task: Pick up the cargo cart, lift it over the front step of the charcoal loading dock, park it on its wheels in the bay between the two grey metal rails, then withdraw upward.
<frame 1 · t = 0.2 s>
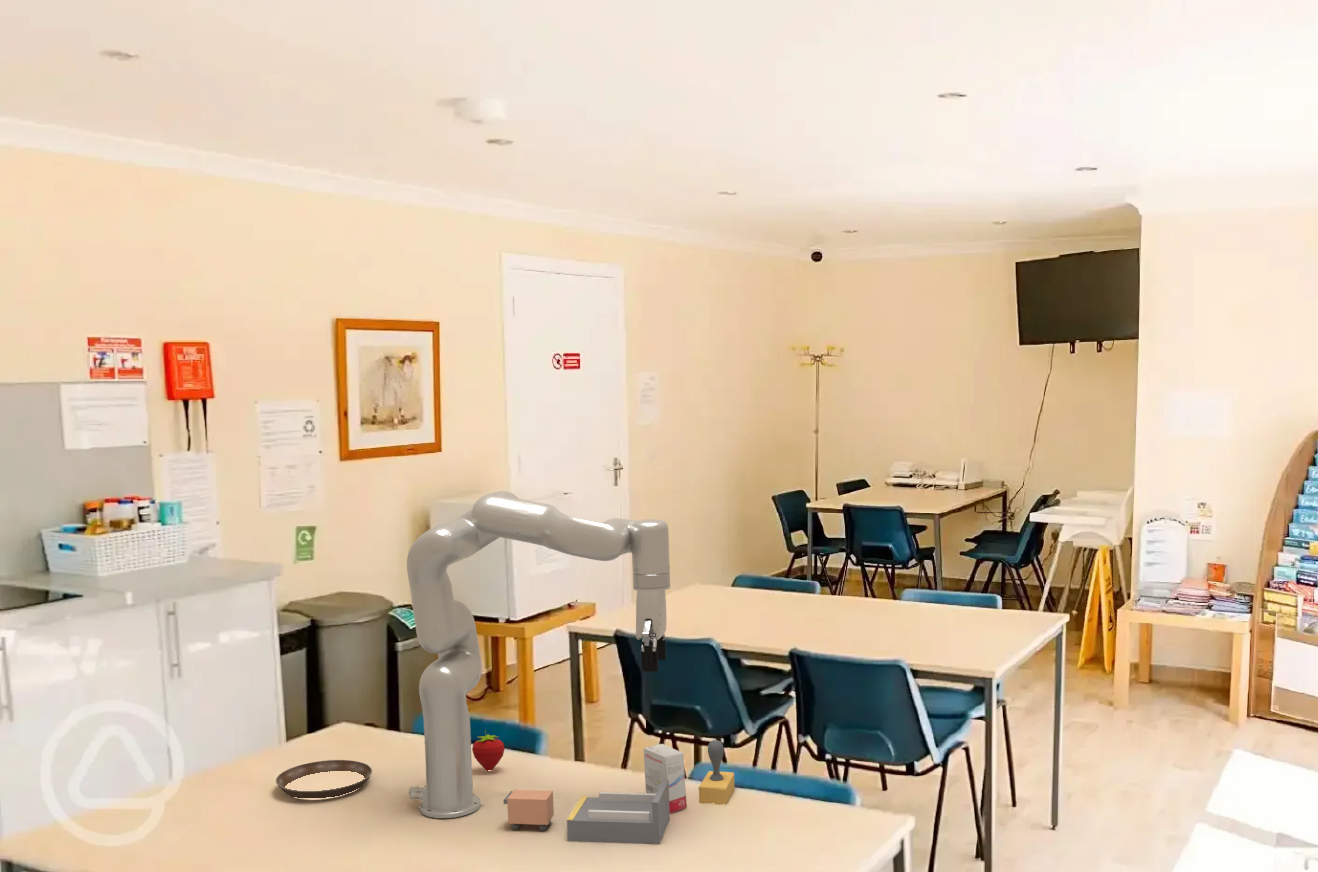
hand: (654, 665, 229), 31 cm above the table, tool pointing down, fingers open, 9 cm apart
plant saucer: (325, 789, 253), on the table
cargo cart: (531, 827, 226), on the table
strawberry: (489, 772, 260), on the table
rubber stamp: (717, 797, 240), on the table
ink box: (665, 807, 235), on the table
loading dock: (619, 830, 223), on the table
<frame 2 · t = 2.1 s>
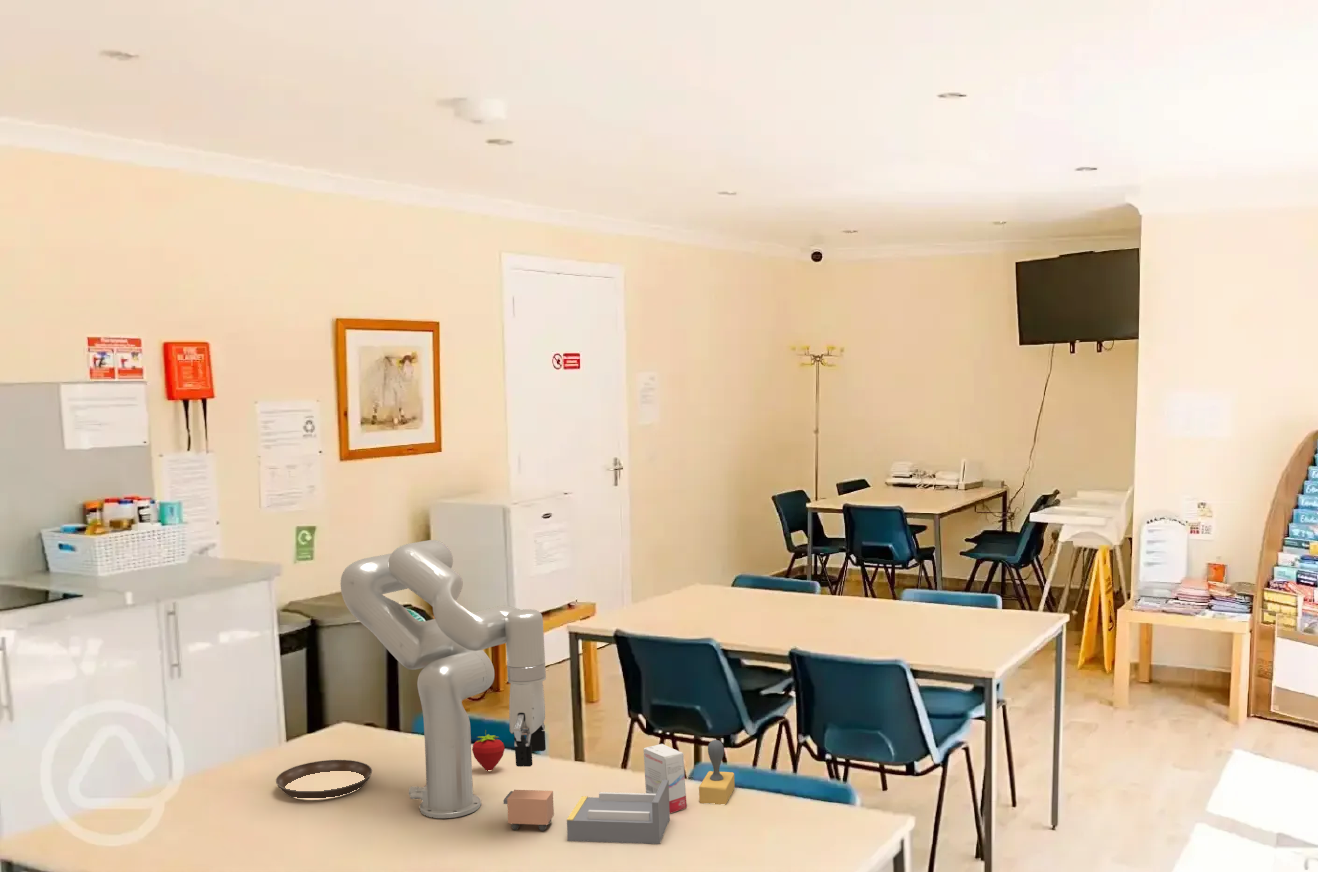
hand: (531, 758, 225), 14 cm above the table, tool pointing down, fingers open, 9 cm apart
nothing on the table moved.
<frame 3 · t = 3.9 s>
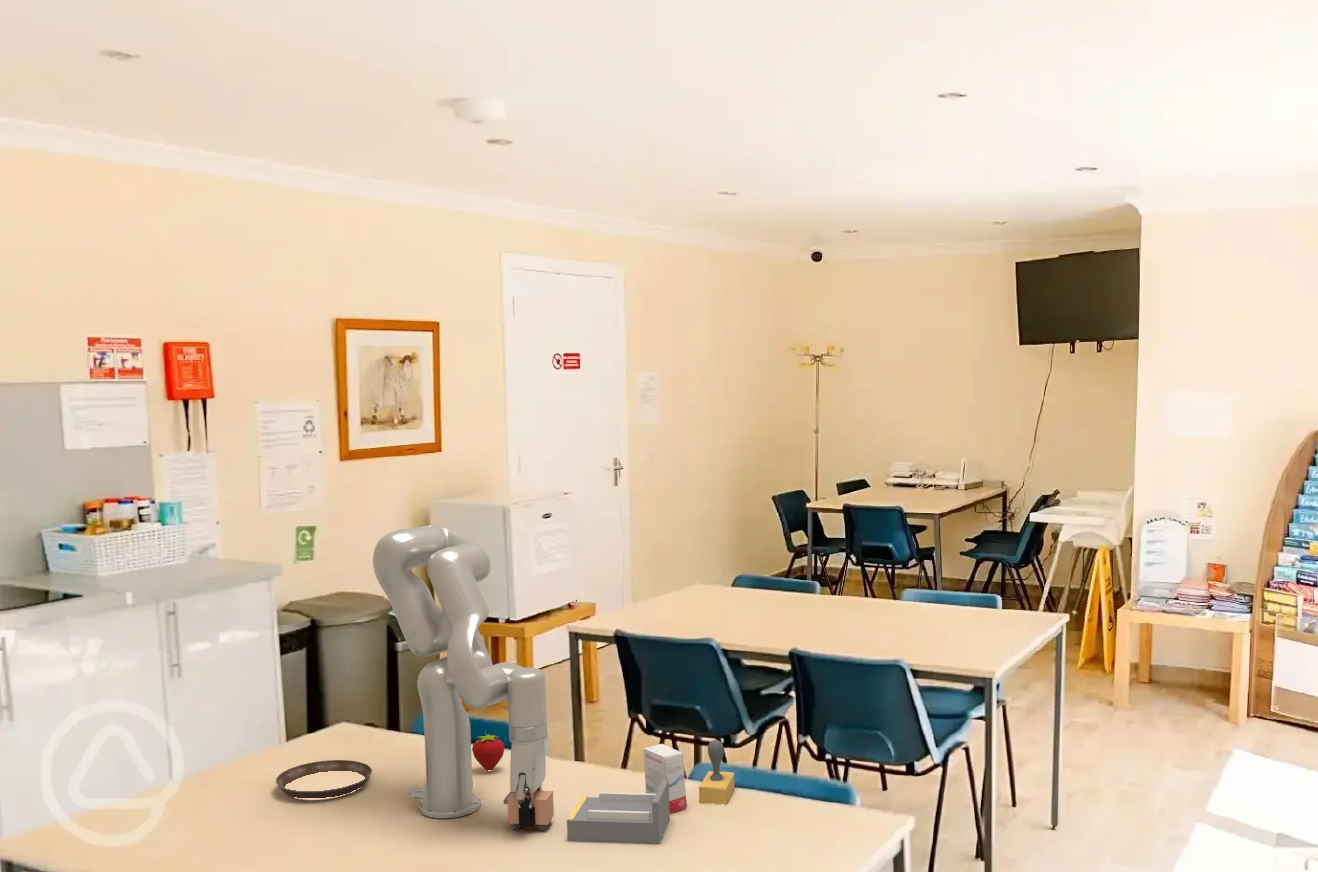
hand: (531, 820, 226), 1 cm above the table, tool pointing down, fingers closed on cargo cart, 5 cm apart
cargo cart: (531, 827, 226), on the table, touching gripper
everything else where it was.
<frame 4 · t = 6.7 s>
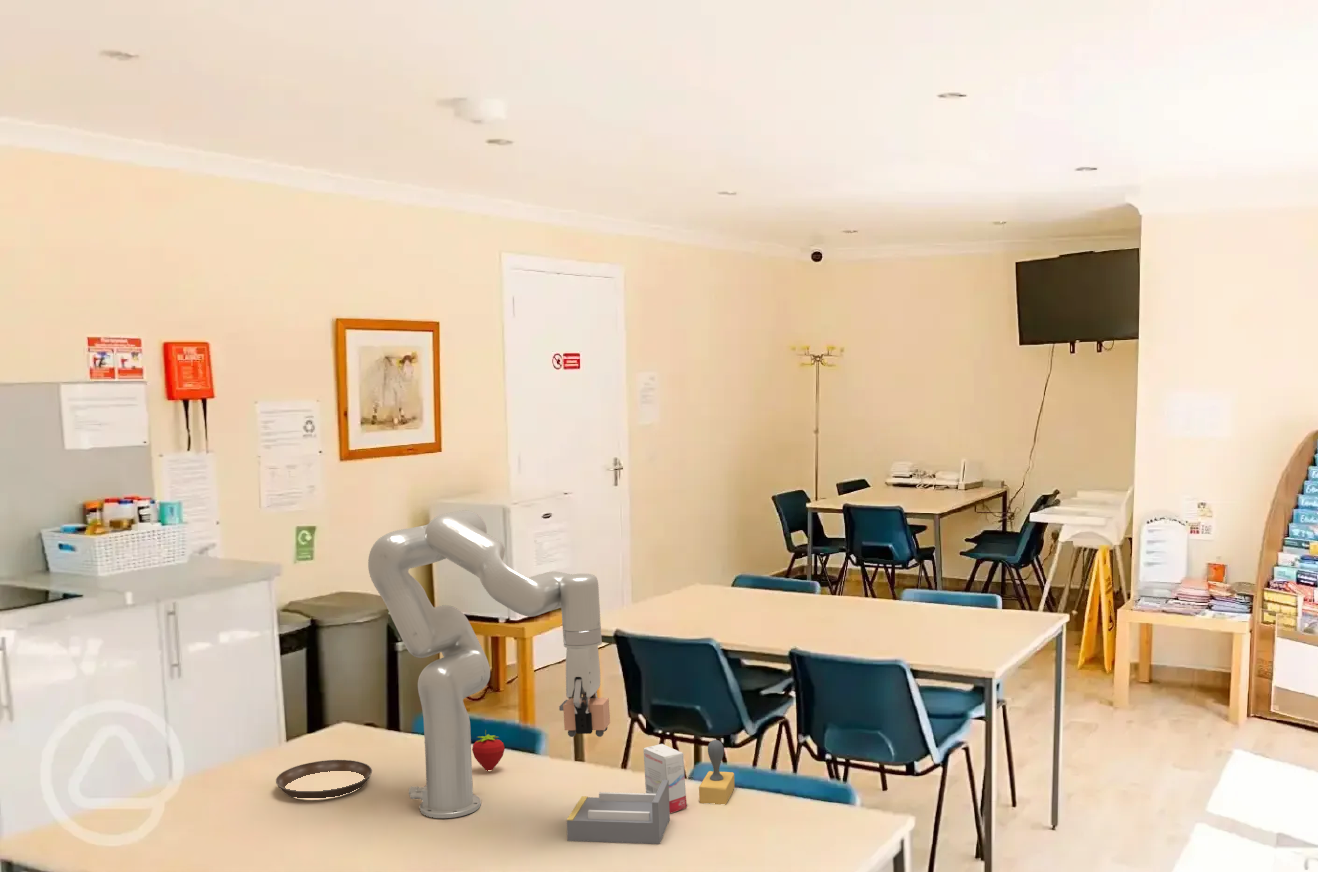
hand: (587, 728, 223), 20 cm above the table, tool pointing down, fingers closed on cargo cart, 5 cm apart
cargo cart: (588, 734, 223), point 19 cm above the table, touching gripper
everything else where it was.
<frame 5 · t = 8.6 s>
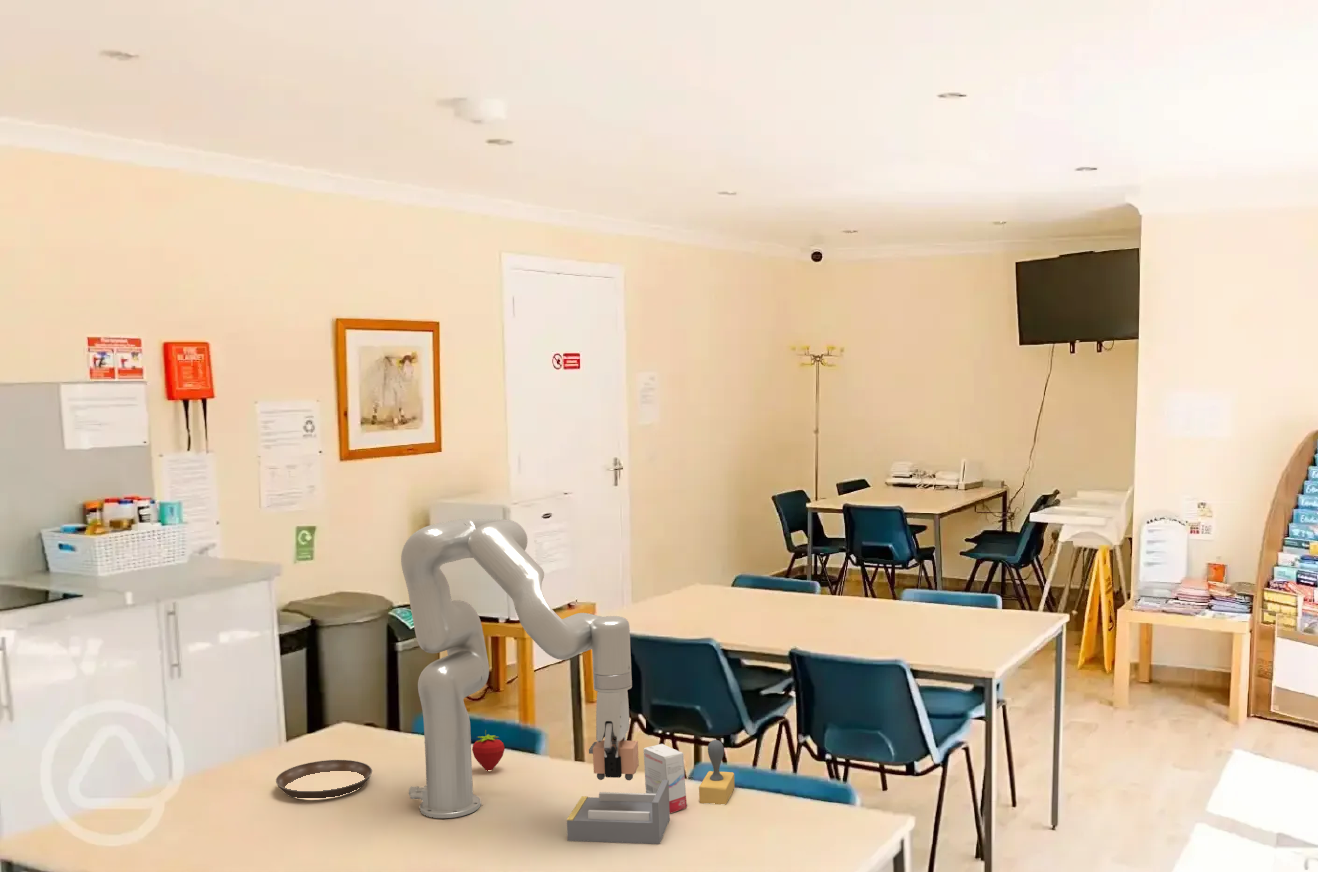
hand: (616, 771, 222), 12 cm above the table, tool pointing down, fingers closed on cargo cart, 5 cm apart
cargo cart: (616, 777, 222), point 11 cm above the table, touching gripper
everything else where it was.
when the fingers open (7 cm above the table, at t = 9.9 s): cargo cart drops 2 cm, resting on loading dock.
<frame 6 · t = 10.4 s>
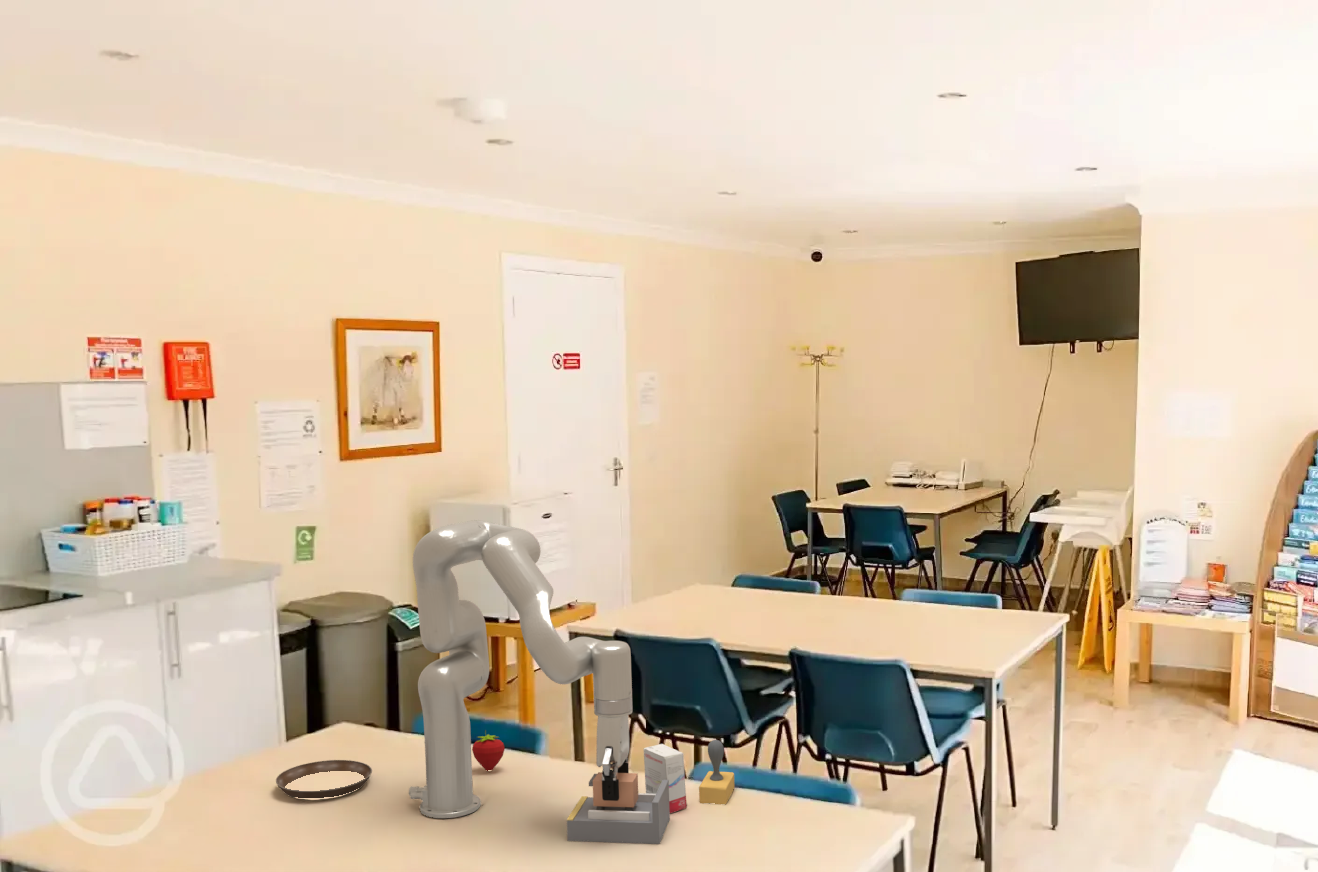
hand: (616, 791, 223), 8 cm above the table, tool pointing down, fingers open, 9 cm apart
cargo cart: (616, 809, 223), point 4 cm above the table, touching loading dock
everything else where it was.
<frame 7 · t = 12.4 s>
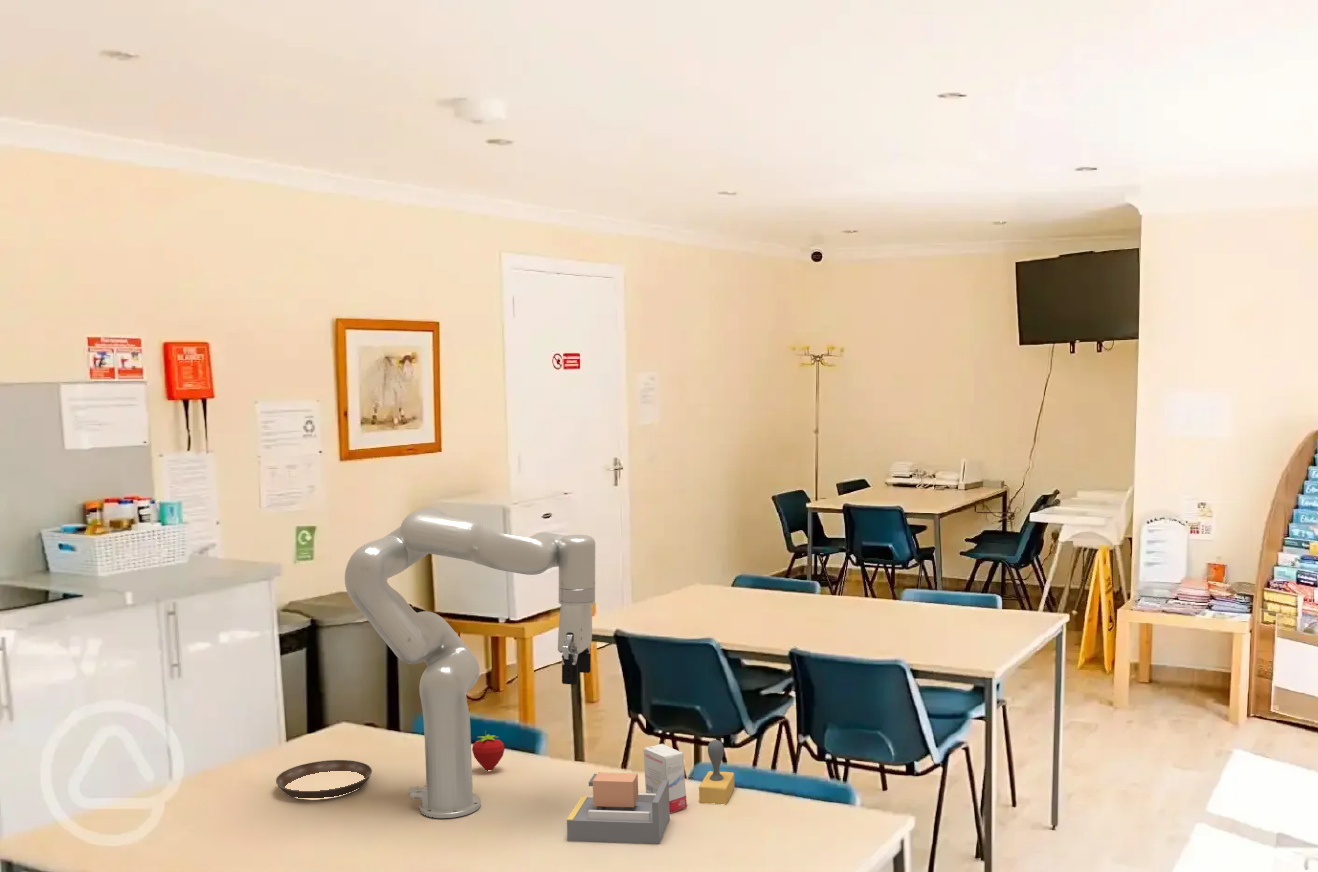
hand: (576, 678, 233), 28 cm above the table, tool pointing down, fingers open, 9 cm apart
nothing on the table moved.
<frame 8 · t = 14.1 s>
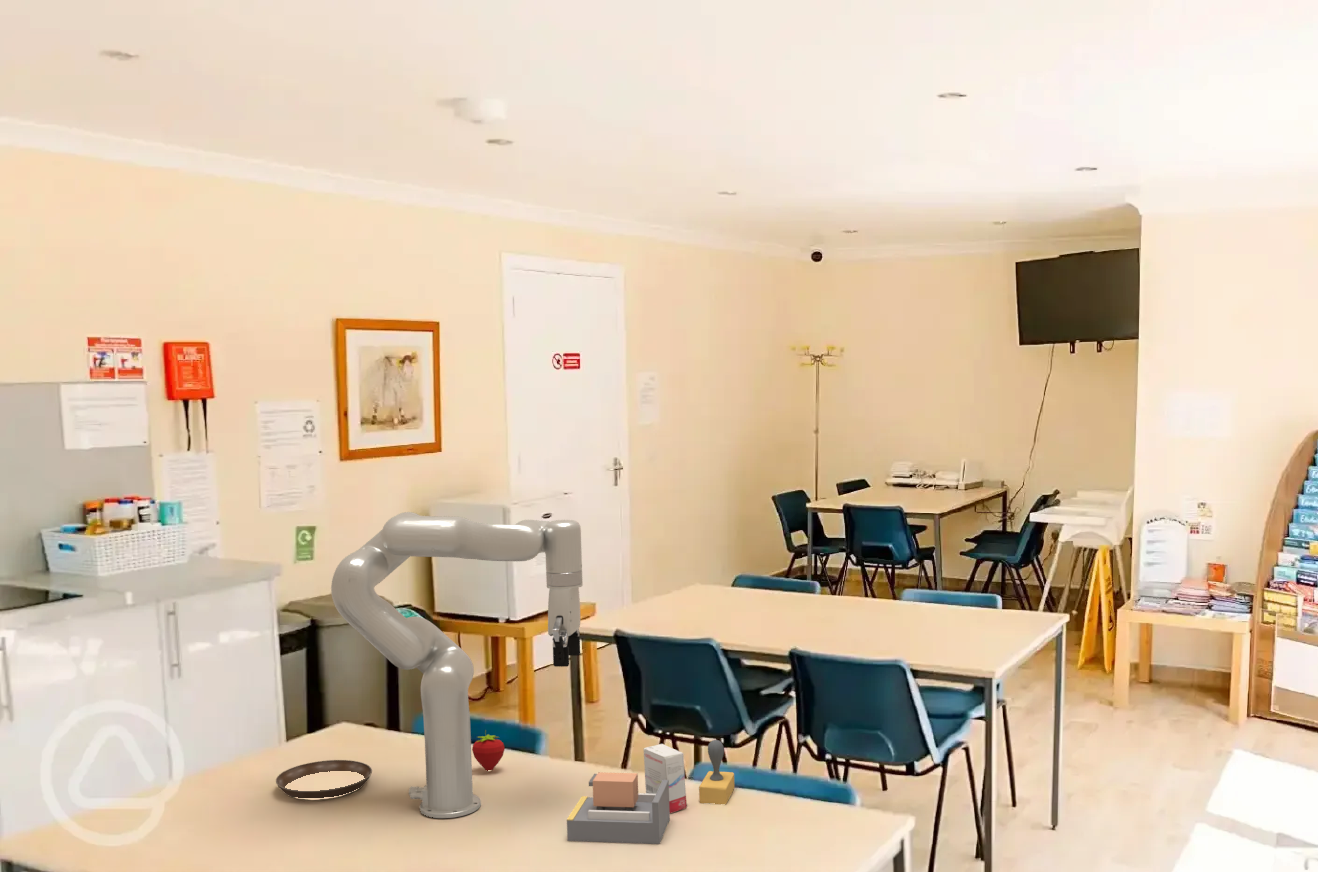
hand: (567, 660, 237), 30 cm above the table, tool pointing down, fingers open, 9 cm apart
nothing on the table moved.
at the end: cargo cart inside the target area on the loading dock (0.5 cm from its centre), point 4.0 cm above the loading dock's base; cargo cart tilted 0°; the gripper is holding nothing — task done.
